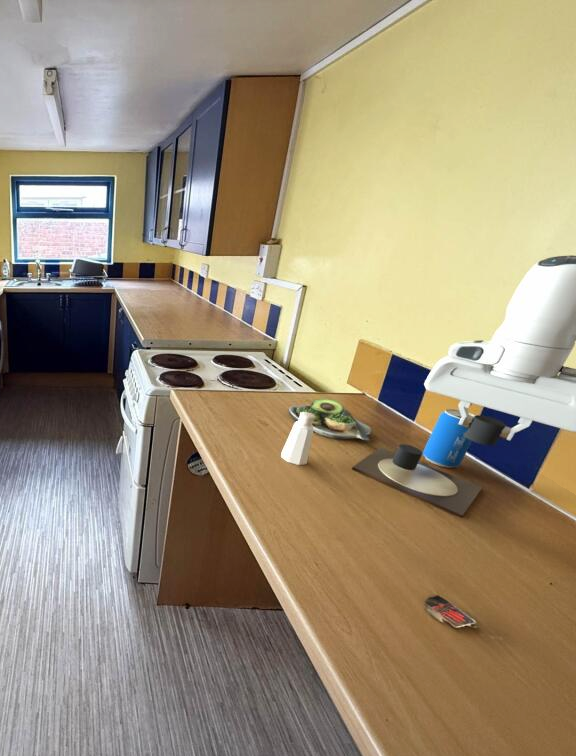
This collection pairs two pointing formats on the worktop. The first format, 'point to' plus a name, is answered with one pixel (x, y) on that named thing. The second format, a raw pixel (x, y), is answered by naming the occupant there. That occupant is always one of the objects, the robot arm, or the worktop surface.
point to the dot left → (407, 457)
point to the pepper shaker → (299, 440)
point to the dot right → (485, 430)
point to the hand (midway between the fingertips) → (483, 431)
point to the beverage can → (447, 440)
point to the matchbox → (448, 612)
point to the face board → (421, 482)
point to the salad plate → (332, 420)
